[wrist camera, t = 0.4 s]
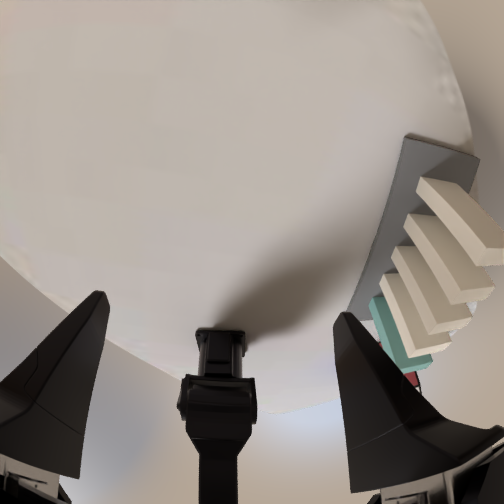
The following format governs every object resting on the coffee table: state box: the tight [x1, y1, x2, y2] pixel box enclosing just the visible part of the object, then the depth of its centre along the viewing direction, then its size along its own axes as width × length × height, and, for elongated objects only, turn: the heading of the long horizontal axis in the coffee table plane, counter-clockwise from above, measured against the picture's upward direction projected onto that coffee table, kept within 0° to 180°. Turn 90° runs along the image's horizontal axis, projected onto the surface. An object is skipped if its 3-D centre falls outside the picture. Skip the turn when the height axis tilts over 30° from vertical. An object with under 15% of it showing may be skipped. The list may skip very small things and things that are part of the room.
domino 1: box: [416, 176, 504, 266], centre depth 17 cm, size 2×5×10 cm, turn 89°
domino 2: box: [403, 213, 495, 305], centre depth 20 cm, size 2×5×10 cm, turn 88°
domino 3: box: [391, 246, 473, 335], centre depth 23 cm, size 2×5×10 cm, turn 88°
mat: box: [346, 137, 480, 321], centre depth 27 cm, size 24×10×1 cm, turn 178°
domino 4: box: [379, 273, 452, 358], centre depth 25 cm, size 2×5×10 cm, turn 89°
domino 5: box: [368, 297, 433, 374], centre depth 28 cm, size 2×5×10 cm, turn 88°
